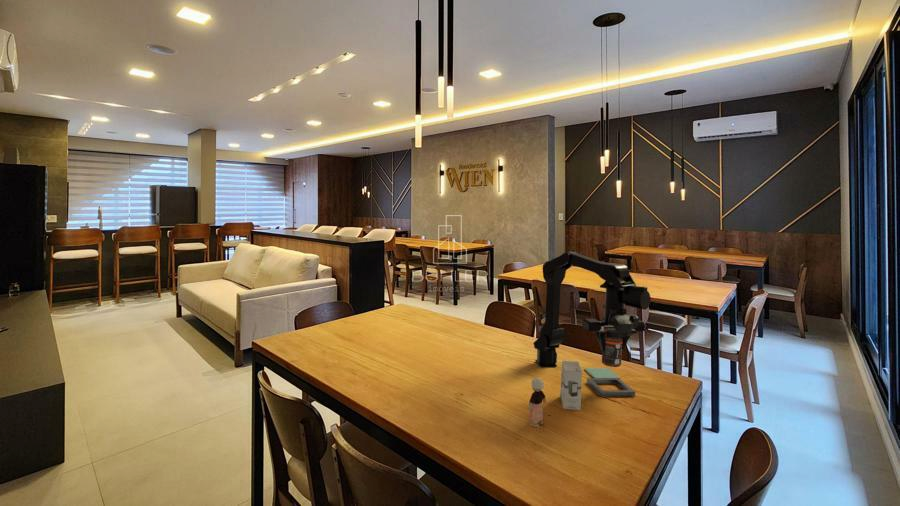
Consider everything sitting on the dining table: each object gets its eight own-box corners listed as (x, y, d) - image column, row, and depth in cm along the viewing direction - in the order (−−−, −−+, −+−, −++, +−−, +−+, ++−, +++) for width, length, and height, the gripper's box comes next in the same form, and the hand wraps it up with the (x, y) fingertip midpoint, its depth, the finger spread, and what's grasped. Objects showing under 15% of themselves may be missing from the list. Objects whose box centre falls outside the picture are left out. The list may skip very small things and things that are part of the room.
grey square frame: (601, 396, 128) (601, 392, 128) (586, 382, 139) (587, 378, 139) (634, 396, 129) (635, 391, 129) (618, 382, 140) (618, 378, 140)
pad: (595, 379, 142) (595, 378, 142) (584, 370, 151) (584, 368, 151) (620, 379, 143) (620, 377, 143) (608, 369, 152) (608, 368, 152)
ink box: (559, 396, 128) (561, 359, 127) (576, 397, 128) (577, 360, 127) (563, 409, 120) (565, 369, 119) (580, 410, 119) (582, 371, 118)
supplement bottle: (622, 368, 130) (625, 333, 129) (603, 366, 131) (605, 332, 130) (619, 362, 136) (621, 328, 135) (600, 360, 137) (602, 327, 136)
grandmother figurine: (534, 416, 115) (536, 372, 114) (547, 420, 113) (549, 375, 112) (522, 427, 109) (524, 381, 107) (536, 432, 106) (538, 385, 105)
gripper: (597, 309, 123) (594, 359, 125) (657, 309, 125) (653, 359, 126) (582, 301, 134) (580, 348, 136) (637, 301, 136) (634, 347, 137)
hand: (612, 350), depth 133 cm, fingers closed on supplement bottle, 6 cm apart
